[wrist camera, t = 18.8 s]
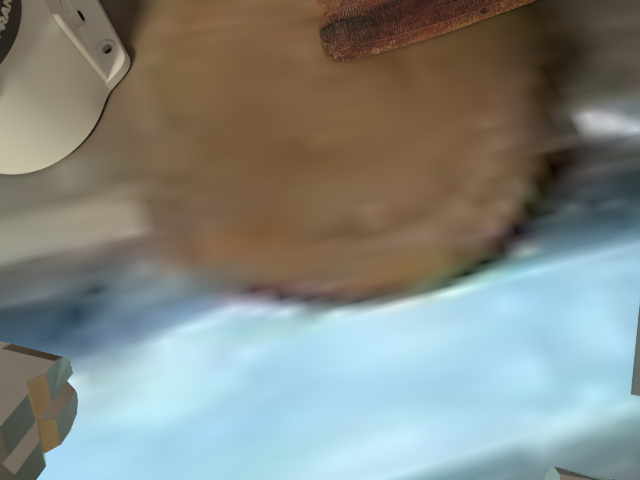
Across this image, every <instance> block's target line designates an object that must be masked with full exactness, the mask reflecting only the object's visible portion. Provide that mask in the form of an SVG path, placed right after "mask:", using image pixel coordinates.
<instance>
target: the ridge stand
mask: <svg viewBox="0 0 640 480" xmlns="http://www.w3.org/2000/svg"><path fill="white" fill-rule="evenodd" d="M631 394H632V395H637V396H640V308H639V318H638V328H637V338H636V349H635V359H634V369H633V379H632V390H631Z"/></svg>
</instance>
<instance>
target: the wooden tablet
mask: <svg viewBox="0 0 640 480" xmlns="http://www.w3.org/2000/svg"><path fill="white" fill-rule="evenodd" d="M313 1H315V2H316V3H317V4H319V5H320V6H322V7H323V9H324V10H323V12H322V14H321V17H320V20H319V30H320V37H321V41H322V45H323V48H324V51H325V53H326V55H327V57H329V58H330V59H332V60H334V61H336V62H338V61H346V60H351V59H357V58H361V57H365V56H370V55H374V54H378V53H381V52H385V51H388V50H392V49H396V48H400V47H404V46H407V45H410V44H414V43H417V42H420V41H423V40H427V39H429V38H432V37H435V36H438V35H441V34H444V33H447V32H450V31H453V30H456V29H459V28H462V27H465V26H468V25H470V24H473V23H475V22H478V21H481V20H484V19H487V18H489V17H492V16H495V15H498V14H501V13H504V12H507V11H509V10H512V9H515V8H517V7H520V6H523V5H526V4H529V3H531V2H534V1H536V0H313Z"/></svg>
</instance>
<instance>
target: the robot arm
mask: <svg viewBox="0 0 640 480" xmlns="http://www.w3.org/2000/svg"><path fill="white" fill-rule="evenodd" d="M109 49H112V50H111V52H110V53H107V54H106V51H107V50H109ZM129 67H130V58H129V56H128V54H127V52H126V50H125V48H124V46H123V44H122V43H121V41H120V39H119V37H118V35H117V33H116V31H115V30H114V28H113V26H112V24H111V22H110V20H109V18H108V17H107V15H106V13H105V11H104V9H103V7H102V5H101V3H100V2H99V0H0V173H1V174H23V173H29V172H33V171H37V170H40V169H43V168H45V167H48V166H50V165H52V164H54V163H56V162H58V161H60V160H61V159H63V158H64V157H66V156H67V155H69V154H70V153H71V152H72V151H74V150H75V149H76V148H77V147H78V146H79V145H80V144H81V143H82V142H83V141H84V140H85V139H86V137H87V136H88V135H89V134H90V132H91V131H92V129H93V128H94V126H95V124H96V123H97V121H98V119H99V117H100V114H101V112H102V109H103V107H104V104H105V101H106V99H107V97H108V95H109V93H110V91H111V90H112V89H113V88H114V87H115V86H116V85H117V84H118V82H119V81H120V80H121V79H122V78H123V77H124V75H125V74H126V73H127V71H128V69H129ZM72 374H73V372H72V367H71V363H70V359H67V358H64V357H61V356H57V355H53V354H49V353H45V352H41V351H37V350H33V349H29V348H25V347H21V346H17V345H13V344H9V343H5V342H0V480H36V479H37V478H38V477H39V475H40V474H41V472H42V471H43V469H44V468H45V467H46V462H45V453H46V452H48V451H50V450H52V449H53V448H55V447H57V446H59V445H61V444H62V442H63V441H64V439H65V438H66V436H67V435H68V433H69V432H70V430H71V427H72V425H73V422H74V419H75V417H76V414H77V405H78V399H77V393H76V391H75V389H74V388H73V387H72V386H71V385H70V384H69V383H68V381H67V380H68V379H69V378H70V376H71V375H72ZM544 480H615V479H610V478H605V477H600V476H596V475H591V474H586V473H582V472H577V471H572V470H567V469H563V468H558V467H552V468H551V469H550V470H548V472H547V474H546V476H545V478H544Z"/></svg>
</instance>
